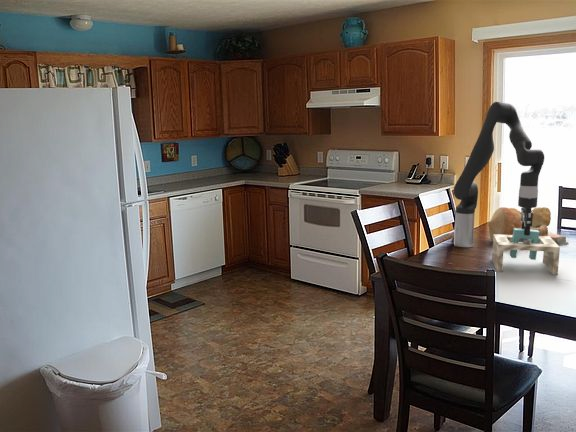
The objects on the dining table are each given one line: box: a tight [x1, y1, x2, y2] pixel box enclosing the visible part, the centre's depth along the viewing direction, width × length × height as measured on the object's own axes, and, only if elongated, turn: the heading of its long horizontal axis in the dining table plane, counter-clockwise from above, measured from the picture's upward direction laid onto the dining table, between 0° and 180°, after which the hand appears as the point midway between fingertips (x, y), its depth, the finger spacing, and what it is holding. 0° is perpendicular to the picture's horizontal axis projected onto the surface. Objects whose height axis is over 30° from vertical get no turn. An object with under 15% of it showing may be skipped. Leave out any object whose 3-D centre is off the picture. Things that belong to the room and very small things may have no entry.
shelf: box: [491, 234, 561, 276], centre depth 245 cm, size 24×20×13 cm
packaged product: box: [548, 231, 569, 246], centre depth 292 cm, size 18×5×10 cm
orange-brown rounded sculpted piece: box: [487, 206, 549, 242], centre depth 287 cm, size 20×19×30 cm
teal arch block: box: [509, 228, 539, 261], centre depth 244 cm, size 10×4×12 cm, turn 77°
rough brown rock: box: [509, 206, 552, 228], centre depth 313 cm, size 23×16×15 cm
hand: (525, 233), depth 243 cm, fingers open, 6 cm apart
